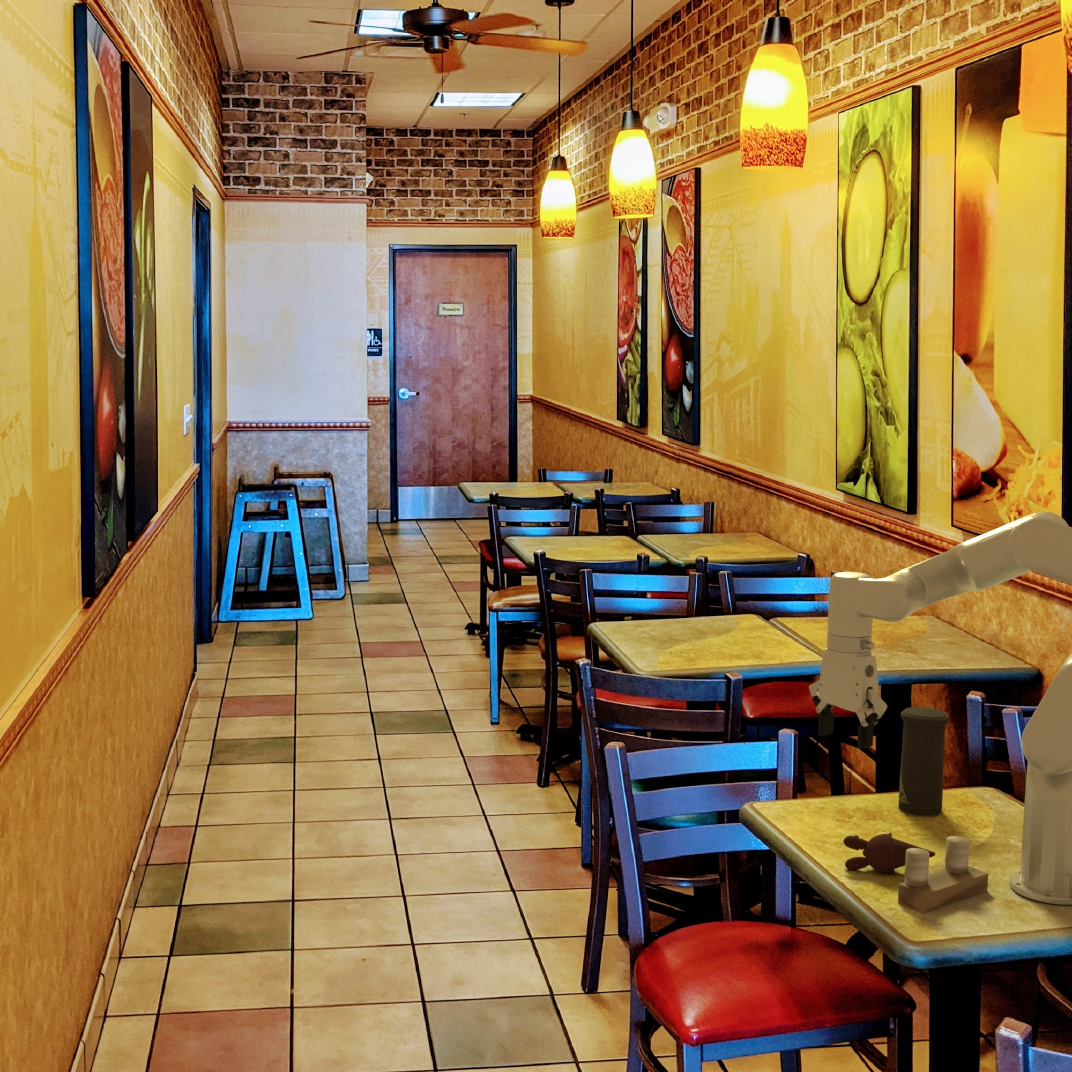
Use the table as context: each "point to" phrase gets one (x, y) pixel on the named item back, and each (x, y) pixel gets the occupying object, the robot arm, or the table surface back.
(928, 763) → the container
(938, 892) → the rail
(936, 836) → the table surface
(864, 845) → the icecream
